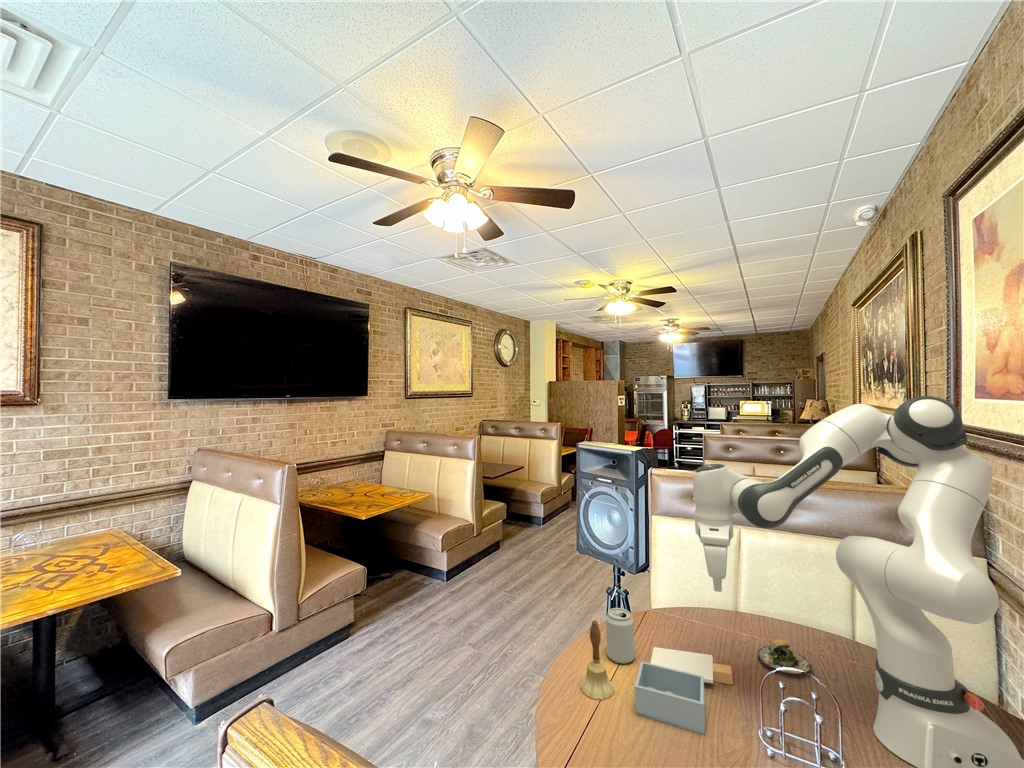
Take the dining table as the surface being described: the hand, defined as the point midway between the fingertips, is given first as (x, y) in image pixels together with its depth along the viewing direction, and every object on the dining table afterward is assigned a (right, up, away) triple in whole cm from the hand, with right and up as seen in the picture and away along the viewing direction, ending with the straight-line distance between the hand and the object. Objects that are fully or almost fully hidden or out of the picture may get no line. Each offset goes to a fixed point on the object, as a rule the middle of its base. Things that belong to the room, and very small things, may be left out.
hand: (717, 582), depth 103 cm
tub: (-16, -23, -11) cm, 31 cm away
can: (-23, -25, +8) cm, 35 cm away
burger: (+20, -24, +4) cm, 31 cm away
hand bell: (-32, -24, -4) cm, 40 cm away
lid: (-6, -24, +1) cm, 25 cm away
